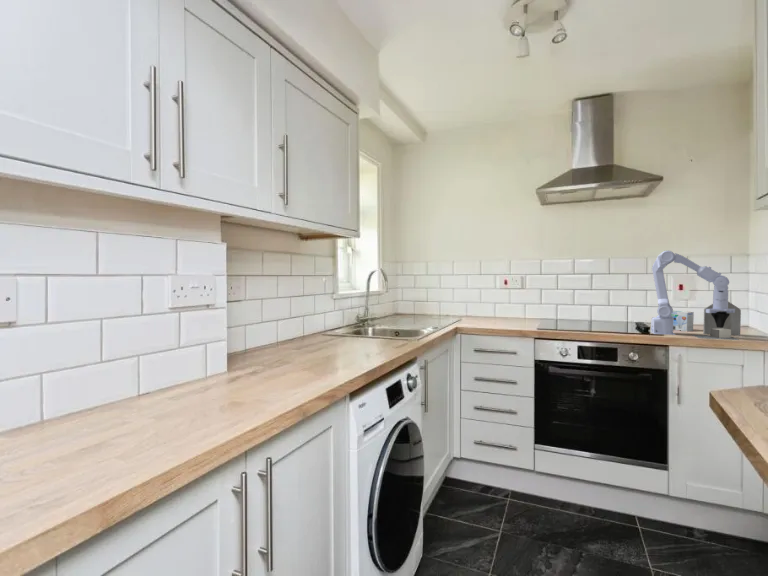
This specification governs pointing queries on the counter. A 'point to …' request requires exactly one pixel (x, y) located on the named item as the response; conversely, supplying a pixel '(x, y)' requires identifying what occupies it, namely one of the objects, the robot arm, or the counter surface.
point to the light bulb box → (683, 320)
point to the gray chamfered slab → (730, 323)
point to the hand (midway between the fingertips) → (719, 327)
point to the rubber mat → (713, 337)
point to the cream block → (721, 333)
